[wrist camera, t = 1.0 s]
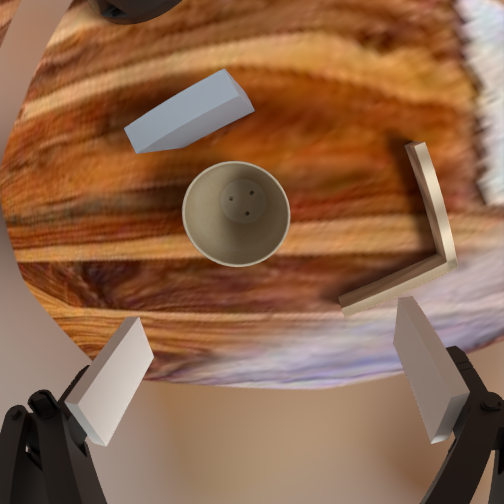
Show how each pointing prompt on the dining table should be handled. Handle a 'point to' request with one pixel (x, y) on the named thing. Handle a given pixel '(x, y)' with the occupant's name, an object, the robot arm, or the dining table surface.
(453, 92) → the dining table surface
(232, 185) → the flower pot
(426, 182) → the l-shaped bracket
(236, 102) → the pale blue rectangular prism
